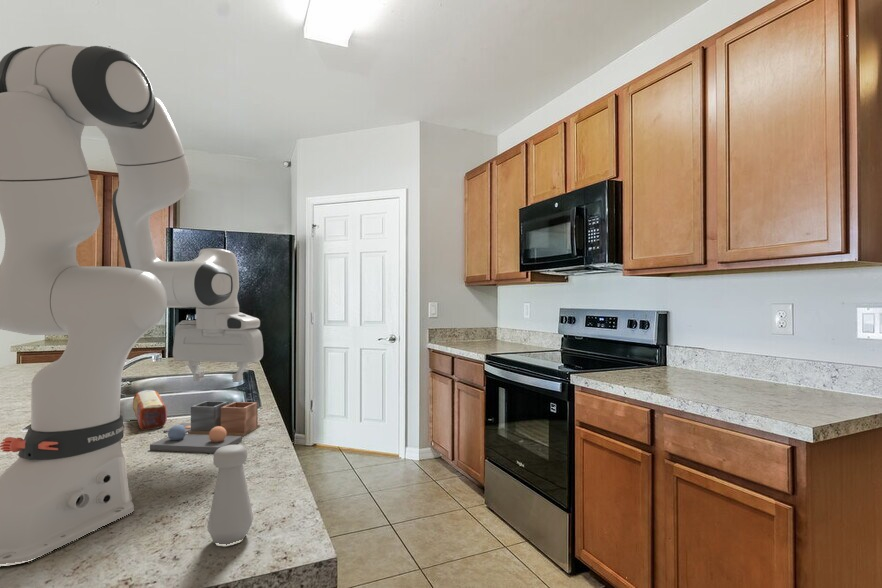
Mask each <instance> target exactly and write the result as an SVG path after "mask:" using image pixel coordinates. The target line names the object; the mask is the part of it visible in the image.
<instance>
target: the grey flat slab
mask: <svg viewBox="0 0 882 588" xmlns="http://www.w3.org/2000/svg"><path fill="white" fill-rule="evenodd" d="M242 441H243V436H226V437H225V439H224V440H223V441H221V442H219V443H215V442H212V441H211V440H210V439H209V435H198V434H188V433H186V434H185V436H184V438H183V439H181V440H179V441H172V440H170V439H169V437H168V436H166V437H164V438H162V439H160V440H157V441H155V442H153V443H150V444H149V451H165V452H187V453H188V452H189V453H213V454H214V453H215V452H216V450H217V449H219V448H221V447H223V446H227V445H239V443H242Z"/></svg>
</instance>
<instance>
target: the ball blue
mask: <svg viewBox="0 0 882 588" xmlns="http://www.w3.org/2000/svg"><path fill="white" fill-rule="evenodd" d="M169 428H170V429H169ZM169 428H168V429H169V431H168V432H167V437H169V439H170V440H172V441H179V440H181V439H183V438H184V436H185V434H187V433H186V429H185V428H184V427H183V426H182V425H179V424H175V425H173V426H171V427H169Z"/></svg>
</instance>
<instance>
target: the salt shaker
mask: <svg viewBox="0 0 882 588" xmlns="http://www.w3.org/2000/svg"><path fill="white" fill-rule="evenodd" d="M247 459H248V449H247V448H246V447H244V446H243V444H236V445H227V446H223V447H221V448H219V449H217V450H216V452H215V453H213V465H214V467H215V468H218V471H217V476H216V480H215V487H214V492H213V497H212V500H211V501H212V502H211V506H210V510H209V517H208V521H207V522H208V523H207V525H206V526H207V532H208V533H209V535H210V536H211V540H212V542H213V544H214V543H219V544H226V545H227V544H230V543H233V542H236V541H239V540H242V539H243V538H244V537H245V536H246V534H247V535H248V534H249V530H250V528H251V526H252V524H253V520H254V515H253V510H252V505H251V499H250V495H249V491H248V490H249V489H248V485H247V480H246V475H245V469H244V464H245V463H246V462H247ZM246 537H247V536H246ZM246 537H245V538H246Z"/></svg>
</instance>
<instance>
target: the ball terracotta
mask: <svg viewBox="0 0 882 588" xmlns="http://www.w3.org/2000/svg"><path fill="white" fill-rule="evenodd" d="M225 437H226V430H225V429H224V428H223V427H221V426H217V427H214V428H213V429H211V431H210V432H209V439H210V440H211V441H212V442H215V443H219V442H221V441H223V440H224V439H225Z"/></svg>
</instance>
